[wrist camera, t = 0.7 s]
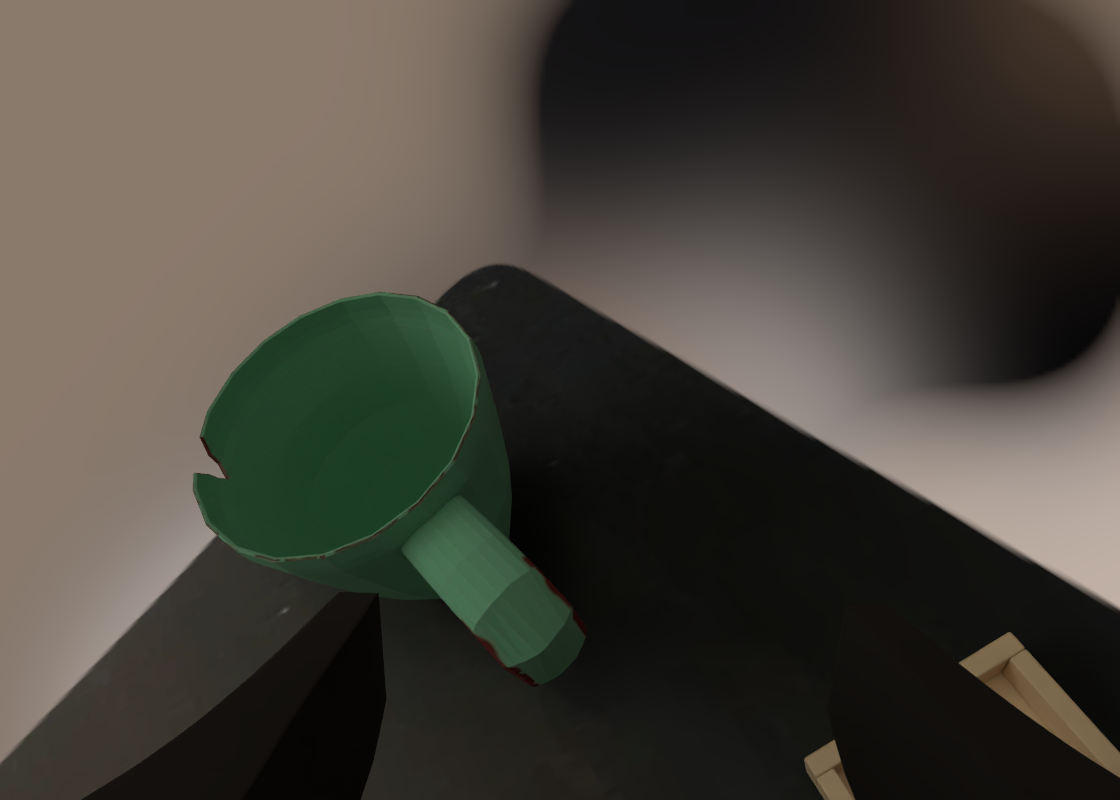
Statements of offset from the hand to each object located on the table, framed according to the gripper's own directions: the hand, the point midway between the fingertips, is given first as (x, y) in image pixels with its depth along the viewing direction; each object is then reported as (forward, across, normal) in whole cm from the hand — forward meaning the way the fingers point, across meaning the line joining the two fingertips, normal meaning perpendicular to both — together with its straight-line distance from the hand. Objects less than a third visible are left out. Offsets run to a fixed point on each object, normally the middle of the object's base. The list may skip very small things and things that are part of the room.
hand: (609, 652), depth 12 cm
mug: (+17, +3, +10) cm, 20 cm away
